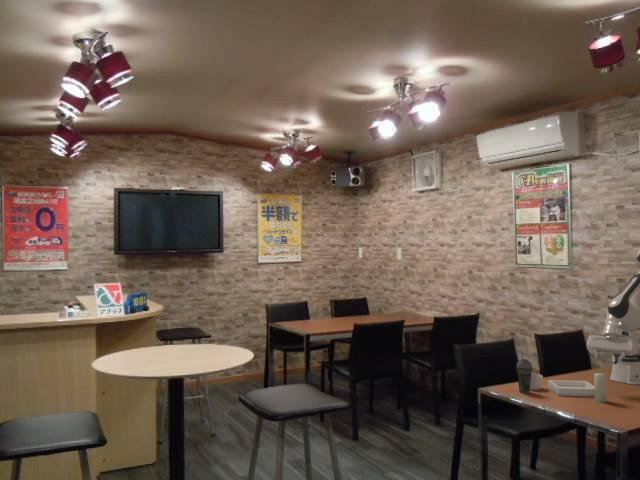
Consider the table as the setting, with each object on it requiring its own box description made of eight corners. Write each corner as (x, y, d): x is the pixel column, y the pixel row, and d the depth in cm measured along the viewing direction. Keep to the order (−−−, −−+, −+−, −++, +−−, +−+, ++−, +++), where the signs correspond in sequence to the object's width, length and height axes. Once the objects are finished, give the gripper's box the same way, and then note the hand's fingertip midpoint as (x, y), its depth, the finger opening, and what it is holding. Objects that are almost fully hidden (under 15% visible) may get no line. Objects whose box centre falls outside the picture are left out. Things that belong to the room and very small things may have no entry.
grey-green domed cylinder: (604, 399, 248) (604, 373, 249) (608, 402, 243) (608, 375, 244) (592, 399, 249) (592, 372, 249) (596, 402, 244) (596, 375, 244)
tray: (586, 388, 269) (586, 381, 269) (599, 396, 253) (599, 389, 253) (548, 387, 271) (548, 380, 271) (558, 395, 255) (558, 388, 255)
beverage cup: (533, 394, 257) (533, 351, 258) (517, 393, 259) (517, 351, 259) (531, 390, 264) (530, 348, 265) (515, 389, 266) (514, 348, 266)
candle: (521, 389, 267) (521, 376, 267) (524, 385, 275) (524, 372, 275) (541, 391, 263) (541, 378, 263) (543, 387, 271) (543, 374, 271)
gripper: (587, 329, 268) (582, 352, 261) (635, 333, 255) (631, 358, 248) (590, 337, 272) (585, 360, 264) (637, 342, 259) (633, 366, 251)
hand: (608, 359), depth 256 cm, fingers open, 8 cm apart
